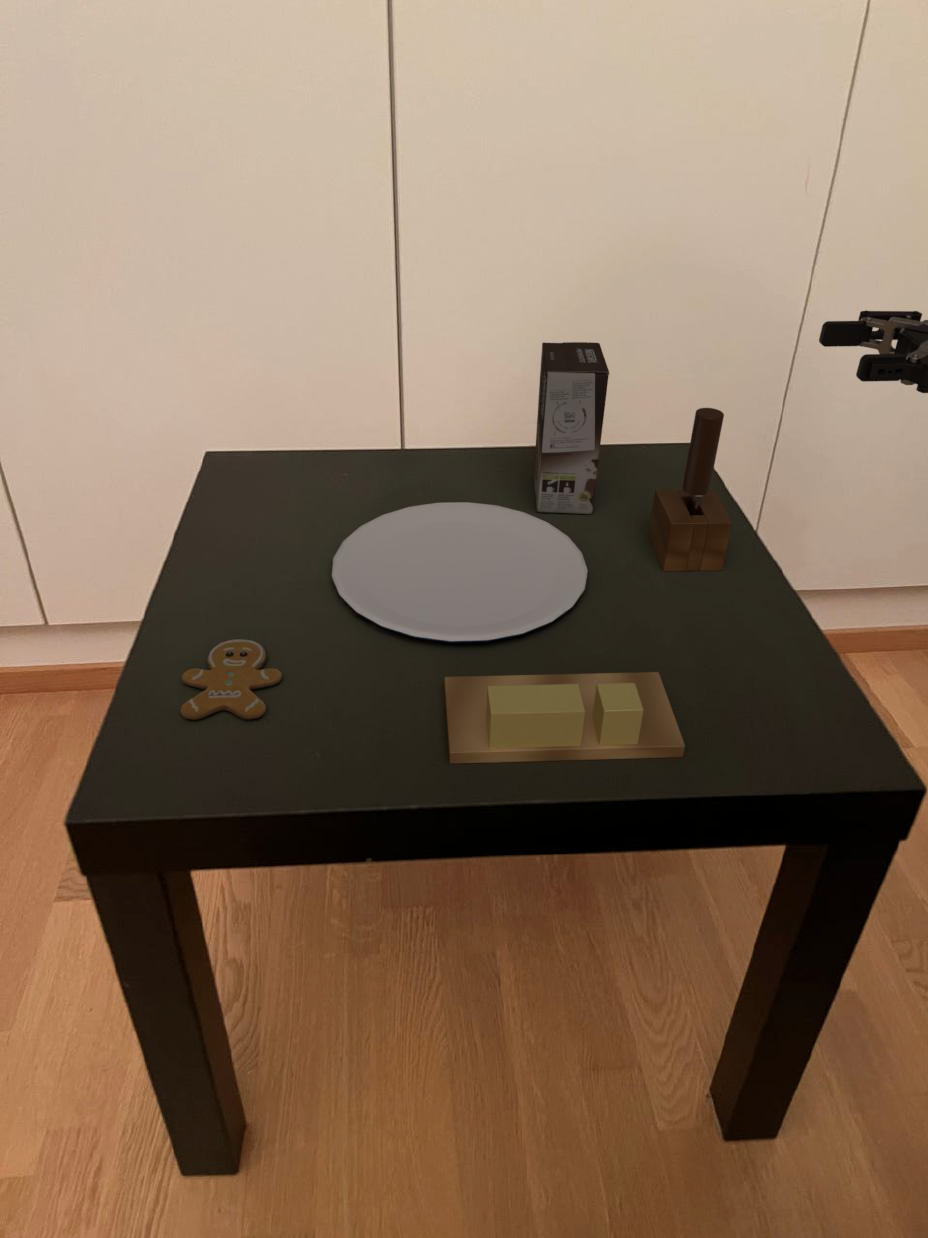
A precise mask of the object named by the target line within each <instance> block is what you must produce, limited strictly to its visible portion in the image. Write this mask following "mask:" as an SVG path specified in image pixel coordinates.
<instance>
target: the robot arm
mask: <svg viewBox="0 0 928 1238" xmlns="http://www.w3.org/2000/svg"><path fill="white" fill-rule="evenodd" d="M922 317H923V313H922V312H921V311H918V310H861V311H860V312H859V315H858V318H857V320H827V321H825V322H823V324H822V326H821V330H820V333H819V338H818V342H819V344H820V345H822V346H823V347H826V348H828V347H829V348H831V347H835V348H837V347H861V348H862V347H864V348H868V349H873V350H877V351H878V353H868V354H867V353H865V354H863V355H862V356H861V357H860V359H859V361H858V366H857V370H856V373H855V374H856V375H855V376H856V378H857V379H858V380H859V381H861V382H899V383H900V384H903V385H904V386H914V385H916V389H915V390H916V391H917V392H919V393H921V394H928V319H924V320H922ZM874 329H877V330H874ZM893 341H896V344H895V347H893V345H892V343H893Z"/></svg>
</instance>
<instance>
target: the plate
mask: <svg viewBox="0 0 928 1238" xmlns="http://www.w3.org/2000/svg"><path fill="white" fill-rule="evenodd" d="M331 568H332V569H331V579H332V581H333V584H334V586H335V588H336V591H337V594H338V595H339V597H340V598H341V599H342V601H344V602H345V603H346V604H347V606H348V607H349V608H351V609H352V610H353V611H354V613H355V614H356V615H359V616H360V617H362V618H364V619H366V620H368V621H369V622H371V623H373V624H375V625H376V626H378V627H380V628H382V629H385V630H388V631H391V632H394V633H397V634H400V635H404V636H407V637H410V638H414V639H419V640H427V641H435V642H441V643H442V642H443V643H449V644H453V643H489V642H494V641H498V640H504V639H509V638H515V637H519V636H523V635H526V634H528V633H531V632H534V631H536V630H538V629H541V628H543V627H545V626H548V625H550V624H552V623H554V622H555V621H557V620H558V619H559V618H561V617H562V616H564V615H565V614H566V613H567V612H569V611H570V610H572V609H573V608H574V606H575V605H576V604H577V602H578V600H579V599H580V598H581V596H583V593H584V592H585V590H586V585H587V578H588V571H589V570H588V567H587V564H586V560H585V558H584V554H583V552H582V550H580V549H579V547H578V546H577V545H576V544H575V542H574V541H573V540H572V539H571V538H570V537H569V536H568V535H567V534H566V533H565V532H562V531H561V530H560V529H558V528H556V526H554V525H552V524H551V523H550V522H548V521H546V520H543V519H541V518H538V517H537V516H534V515H531V514H529V513H526V512H524V511H521V510H517V509H512V508H509V507H505V506H500V505H496V504H487V503H480V502H479V503H478V502H472V501H471V502H470V501H456V502H455V501H448V502H432V503H427V504H419V505H412V506H407V507H404V508H400V509H398V510H394V511H390V512H387V513H384V514H382V515H379V516H378V517H375V518H374V519H372V520H370V521H368V522H365V523H364V524H362V525H360V526H359V527H358V528H356V529H355V530H354V531H353V532H352V533H351V534H349V535H348V536H347V537H346V538H345V539H344V540H342V542H341V543H340V546H339V547H338V549H337V551H336V552H335V554H334V555H333V558H332V567H331Z"/></svg>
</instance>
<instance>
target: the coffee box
mask: <svg viewBox="0 0 928 1238" xmlns="http://www.w3.org/2000/svg"><path fill="white" fill-rule="evenodd" d="M540 355H541V356H540V357H541V358H540V369H539V371H540V372H539V386H538V389H539V390H538V400H537V401H538V402H537V418H536V433H535V434H536V436H535V453H534V464H533V465H534V468H533V484H534V485H533V486H534V494H535V504H536V505H535V507H536V512H538V513H552V514H553V513H554V514H555V513H556V514H578V515H579V514H580V515H581V514H582V515H591V514H593V510H594V504H595V503H594V502H595V494H596V493H595V492H596V485H597V477H598V469H599V468H598V467H599V461H600V460H599V459H600V451H601V442H602V434H603V425H604V417H605V408H606V401H607V393H608V384H609V376H610V370H609V367H608V364H607V362H606V358H605V356H604V353H603V350H602V346H601V344H600V342H591V341H589V342H586V341H585V342H584V341H583V342H582V341H579V342H578V341H573V342H572V341H570V342H569V341H567V342H566V341H564V342H542V343H541V354H540Z"/></svg>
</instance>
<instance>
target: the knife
mask: <svg viewBox="0 0 928 1238" xmlns="http://www.w3.org/2000/svg"><path fill="white" fill-rule="evenodd" d="M724 418H725V413H724V412H723V411H722V410H720V409H718V408H713V407H701V408H698V409H697V410H695V414H694V419H693V425H692V431H691V437H690V442H689V447H688V453H687V459H686V465H685V470H684V476H683V482H682V489H683V490H684V491H685V492H686V493H689V499H688V505H687V510H688V512H689V513H690V515H697V510H698V505H699V501H702V498H703V495H705V494H707V493H708V492H709V490H710V489H711V485H712V479H713V474H714V468H715V463H716V459H717V453H718V448H719V445H720V444H719V442H720V439H721V438H720V437H721V432H722V428H723V422H724Z"/></svg>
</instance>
